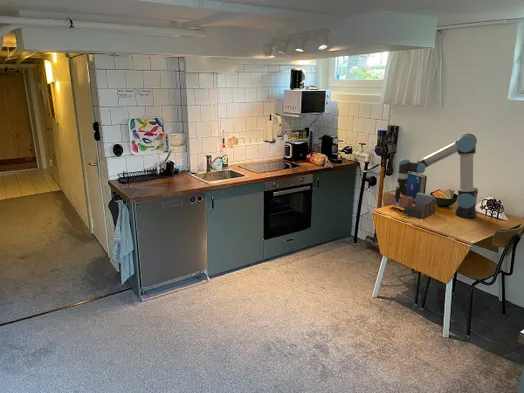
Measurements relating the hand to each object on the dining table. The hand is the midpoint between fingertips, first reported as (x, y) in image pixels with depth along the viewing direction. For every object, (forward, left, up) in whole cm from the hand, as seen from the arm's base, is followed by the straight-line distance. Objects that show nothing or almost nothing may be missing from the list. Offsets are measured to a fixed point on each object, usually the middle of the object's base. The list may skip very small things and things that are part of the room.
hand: (399, 205), depth 324 cm
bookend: (+8, +16, -4) cm, 18 cm away
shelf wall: (0, +24, -4) cm, 25 cm away
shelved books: (-8, +17, -4) cm, 19 cm away
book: (-31, -4, -4) cm, 31 cm away
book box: (0, 0, 0) cm, 0 cm away
